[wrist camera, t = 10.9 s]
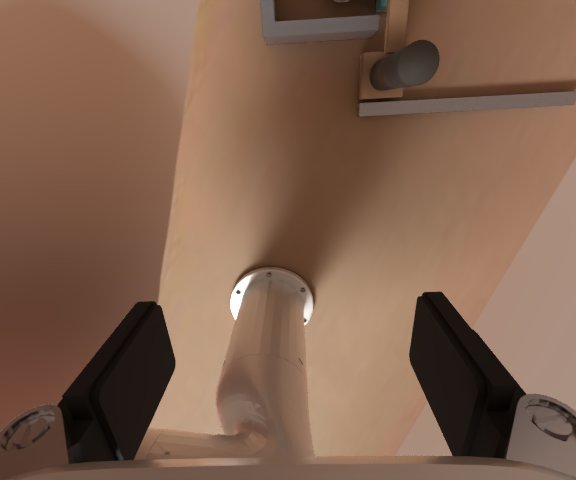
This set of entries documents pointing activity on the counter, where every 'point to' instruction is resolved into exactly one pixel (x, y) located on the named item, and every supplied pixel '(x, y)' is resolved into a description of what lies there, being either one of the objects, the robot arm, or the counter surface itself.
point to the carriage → (396, 57)
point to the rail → (466, 103)
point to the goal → (314, 27)
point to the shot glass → (341, 1)
